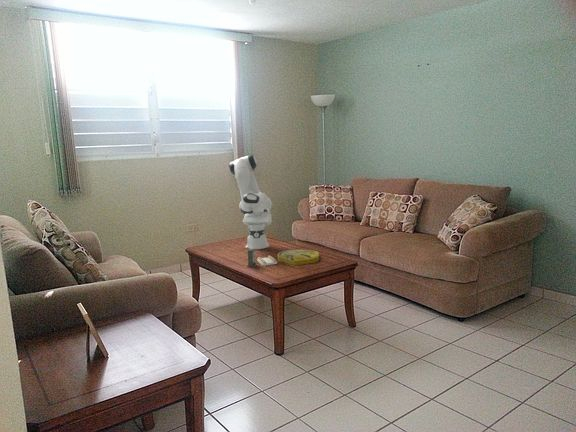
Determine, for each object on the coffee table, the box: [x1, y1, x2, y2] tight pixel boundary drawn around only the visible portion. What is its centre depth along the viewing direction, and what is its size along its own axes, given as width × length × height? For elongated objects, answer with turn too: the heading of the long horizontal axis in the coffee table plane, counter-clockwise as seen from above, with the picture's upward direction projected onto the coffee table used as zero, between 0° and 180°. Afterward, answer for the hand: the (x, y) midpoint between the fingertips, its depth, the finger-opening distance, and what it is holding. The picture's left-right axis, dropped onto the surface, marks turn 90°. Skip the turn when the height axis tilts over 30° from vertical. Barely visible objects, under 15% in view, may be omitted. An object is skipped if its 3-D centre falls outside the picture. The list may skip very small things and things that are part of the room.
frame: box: [246, 248, 257, 268], centre depth 293 cm, size 6×4×11 cm
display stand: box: [256, 255, 278, 266], centre depth 301 cm, size 13×10×3 cm
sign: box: [277, 249, 320, 266], centre depth 308 cm, size 28×3×30 cm
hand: (255, 229), depth 302 cm, fingers open, 8 cm apart
